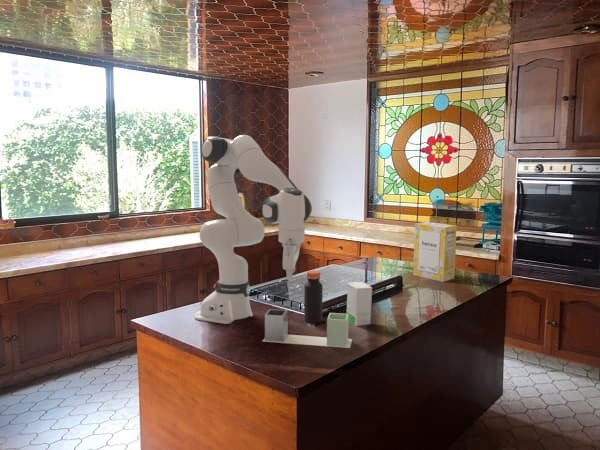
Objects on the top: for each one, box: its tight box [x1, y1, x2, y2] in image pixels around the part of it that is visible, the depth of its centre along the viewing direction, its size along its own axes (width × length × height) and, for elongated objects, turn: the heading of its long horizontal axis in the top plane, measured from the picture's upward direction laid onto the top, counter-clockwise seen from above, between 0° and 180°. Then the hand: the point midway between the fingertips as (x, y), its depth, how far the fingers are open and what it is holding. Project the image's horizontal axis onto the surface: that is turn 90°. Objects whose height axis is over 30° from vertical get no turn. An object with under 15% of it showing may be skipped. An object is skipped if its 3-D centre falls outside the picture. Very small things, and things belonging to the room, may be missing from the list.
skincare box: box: [345, 281, 373, 327], centre depth 178 cm, size 8×7×16 cm
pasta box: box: [412, 221, 458, 282], centre depth 249 cm, size 18×10×28 cm, turn 41°
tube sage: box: [326, 312, 349, 348], centre depth 158 cm, size 6×6×9 cm
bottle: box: [303, 270, 324, 324], centre depth 179 cm, size 7×7×20 cm
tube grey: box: [264, 308, 289, 343], centre depth 162 cm, size 6×6×9 cm
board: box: [262, 334, 353, 349], centre depth 160 cm, size 30×8×1 cm, turn 79°
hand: (290, 275), depth 163 cm, fingers open, 8 cm apart
